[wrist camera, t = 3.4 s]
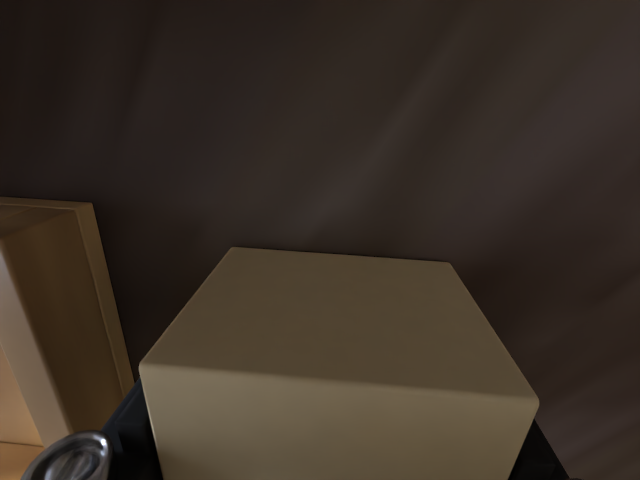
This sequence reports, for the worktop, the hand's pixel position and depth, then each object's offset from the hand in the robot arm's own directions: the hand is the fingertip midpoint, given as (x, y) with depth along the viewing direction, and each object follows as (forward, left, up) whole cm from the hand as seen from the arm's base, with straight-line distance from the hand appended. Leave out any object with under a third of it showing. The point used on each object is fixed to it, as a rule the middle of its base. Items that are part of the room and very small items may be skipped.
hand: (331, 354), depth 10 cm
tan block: (0, 0, -1) cm, 1 cm away
